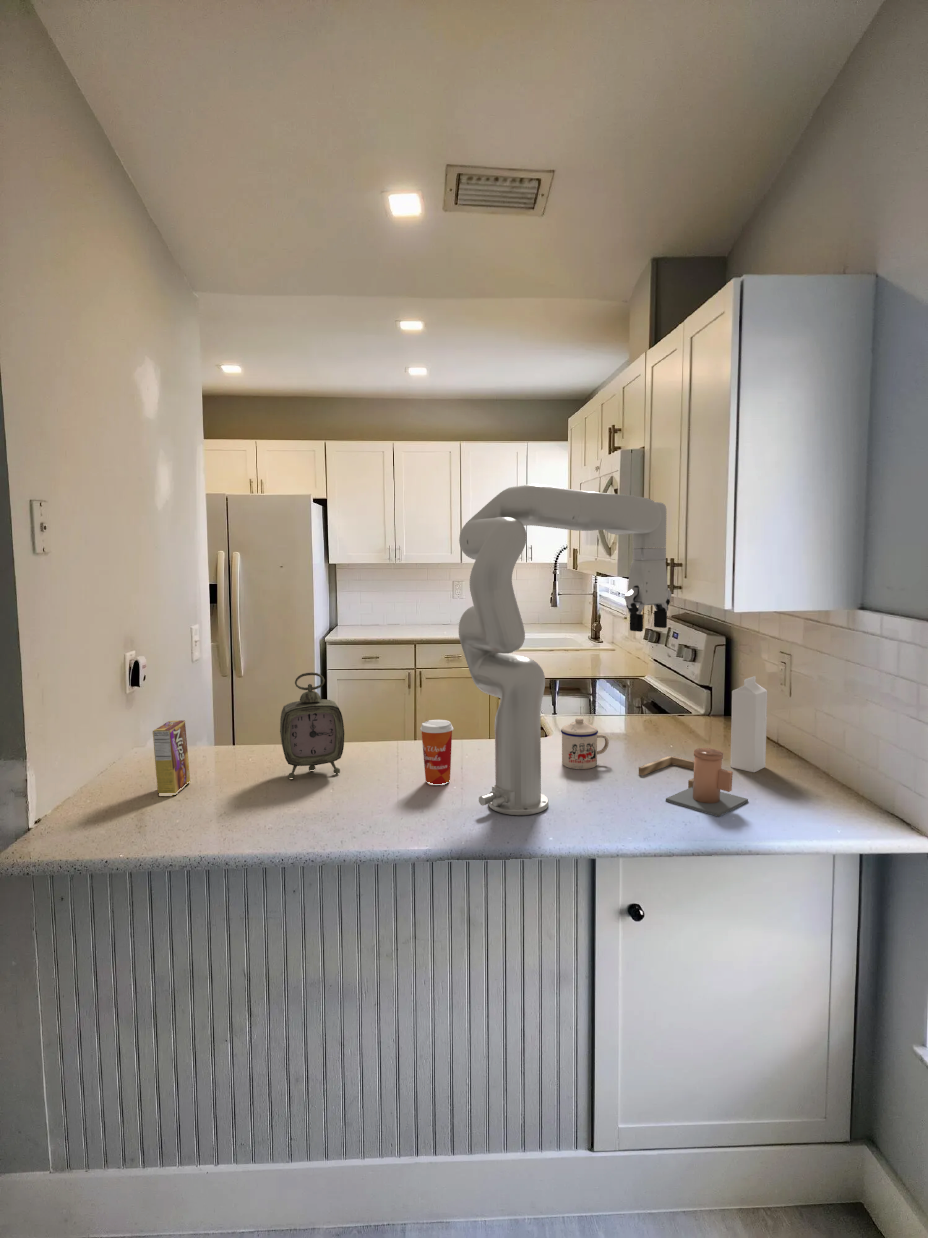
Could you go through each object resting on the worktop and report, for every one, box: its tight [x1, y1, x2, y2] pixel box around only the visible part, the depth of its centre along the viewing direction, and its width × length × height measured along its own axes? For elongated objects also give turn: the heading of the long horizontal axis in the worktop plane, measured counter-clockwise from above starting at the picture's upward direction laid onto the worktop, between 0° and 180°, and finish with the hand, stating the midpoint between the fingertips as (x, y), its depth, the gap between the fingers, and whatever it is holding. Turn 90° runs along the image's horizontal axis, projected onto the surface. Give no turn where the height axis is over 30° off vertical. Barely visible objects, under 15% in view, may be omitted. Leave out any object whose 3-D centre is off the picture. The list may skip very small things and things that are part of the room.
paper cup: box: [419, 719, 454, 784], centre depth 160 cm, size 8×8×14 cm
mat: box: [665, 787, 749, 817], centre depth 146 cm, size 12×12×1 cm
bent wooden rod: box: [638, 755, 723, 789], centre depth 163 cm, size 14×14×2 cm
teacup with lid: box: [560, 717, 610, 770], centre depth 172 cm, size 12×9×12 cm
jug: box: [692, 747, 734, 803], centre depth 144 cm, size 8×6×10 cm
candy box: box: [152, 719, 191, 794], centre depth 158 cm, size 9×4×15 cm, turn 0°
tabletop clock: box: [279, 671, 345, 779], centre depth 167 cm, size 14×9×25 cm, turn 108°
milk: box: [730, 675, 768, 773], centre depth 167 cm, size 6×6×22 cm
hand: (648, 629), depth 163 cm, fingers open, 9 cm apart
